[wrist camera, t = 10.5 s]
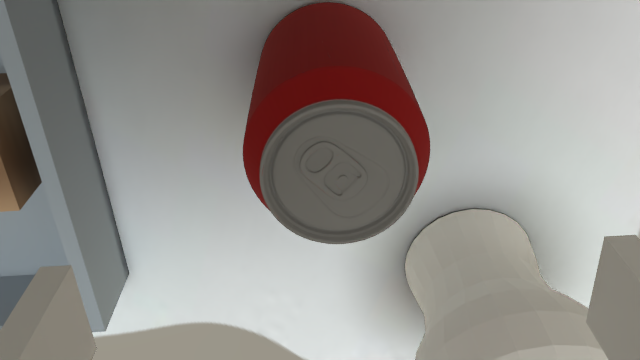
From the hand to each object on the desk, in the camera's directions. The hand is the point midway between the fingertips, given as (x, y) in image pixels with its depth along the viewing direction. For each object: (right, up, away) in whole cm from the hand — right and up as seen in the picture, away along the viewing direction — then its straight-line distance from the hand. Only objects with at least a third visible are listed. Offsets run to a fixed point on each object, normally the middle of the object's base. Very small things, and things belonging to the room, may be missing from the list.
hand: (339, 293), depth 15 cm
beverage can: (0, +9, +16) cm, 18 cm away
